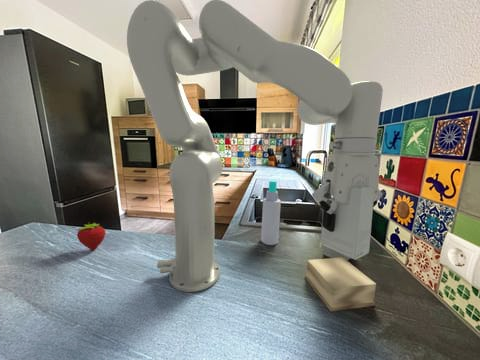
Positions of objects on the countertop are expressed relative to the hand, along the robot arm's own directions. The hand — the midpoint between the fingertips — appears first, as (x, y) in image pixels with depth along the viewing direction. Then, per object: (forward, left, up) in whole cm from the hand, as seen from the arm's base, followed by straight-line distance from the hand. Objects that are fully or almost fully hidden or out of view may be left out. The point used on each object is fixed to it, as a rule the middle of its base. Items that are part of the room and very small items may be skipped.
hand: (344, 228), depth 42 cm
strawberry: (-65, +26, -16) cm, 72 cm away
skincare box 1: (0, 0, -5) cm, 5 cm away
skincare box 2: (+11, +14, -16) cm, 24 cm away
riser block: (0, 0, -15) cm, 15 cm away
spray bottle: (-8, +25, -16) cm, 31 cm away
